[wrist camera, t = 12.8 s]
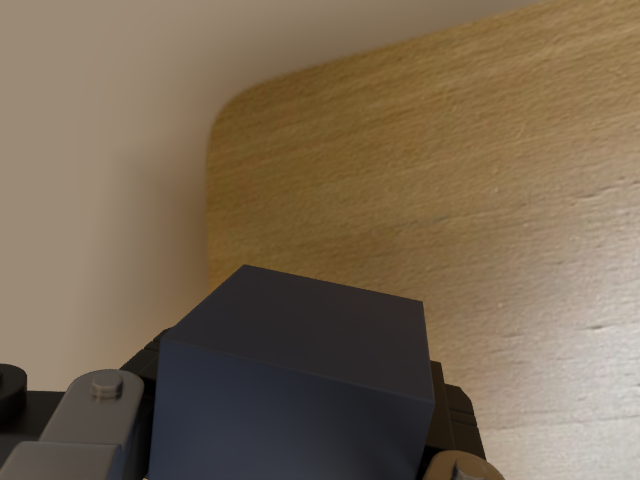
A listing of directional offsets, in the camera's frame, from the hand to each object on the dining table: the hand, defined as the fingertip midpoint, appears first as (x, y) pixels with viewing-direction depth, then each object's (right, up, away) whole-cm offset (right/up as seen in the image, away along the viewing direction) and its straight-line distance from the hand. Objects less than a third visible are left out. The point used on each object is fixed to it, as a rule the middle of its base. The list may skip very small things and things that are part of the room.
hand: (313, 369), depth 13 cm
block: (0, 0, 0) cm, 0 cm away
